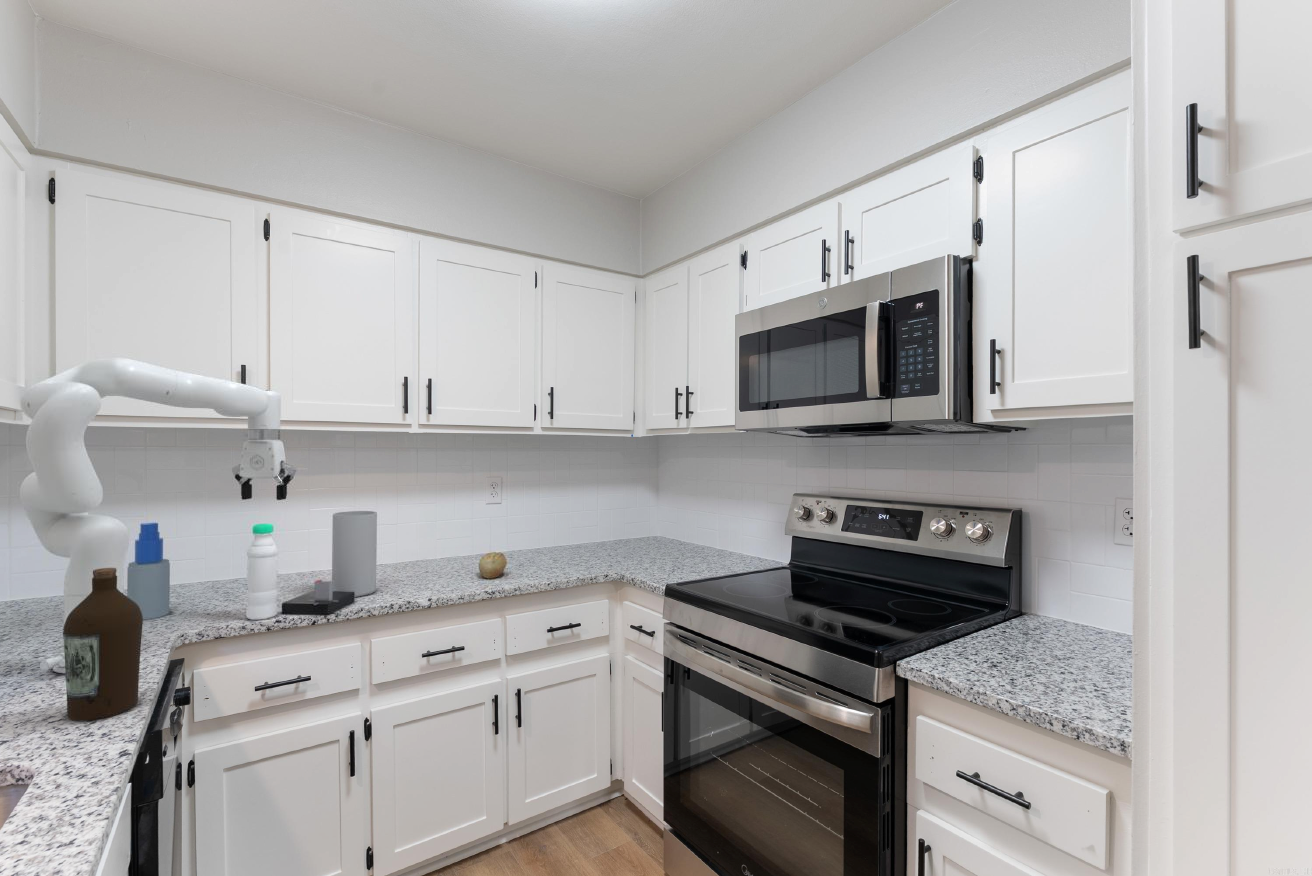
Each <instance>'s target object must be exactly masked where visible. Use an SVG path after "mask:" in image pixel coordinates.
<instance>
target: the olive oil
mask: <svg viewBox="0 0 1312 876" xmlns="http://www.w3.org/2000/svg"><path fill="white" fill-rule="evenodd" d="M143 623H144V620H143V616H142V613H141V610H140V608H139V606H138V605H137V604H136V603H135V602H134V601H133V600H131V599H130V598H128V597H127V594H125V593H124V594H123V593H121V592H120V591H119V590H118V589H117V576H116V568H101V569H96V570H94V571H93V578H92V592H91V593H90V594H89V595H88V596H87V597H86V598H85V599H84V600H83V601H82V602H81V603H80V604H79V605H78V606H76V607H75V608H74V609H73V610H72V611H71V612H70V614H69V615H68V617H67V619H66V622H65V624H64V623H63V628H62V639H63V640H62V641H63V648H64V655H65V672H66V673H65V688H66V689H65V690H66V716H67V718H68V719H69V720H71V721H76V722H85V721H94V720H100V719H105V718H109V717H113V716H116V715H119V714H122V713H124V712H127V711H129V710H131V709H133V708H134V707H135V706H136V705H137V704H138V702H139V701H138V700H139V680H140V665H141V663H140V662H141V650H142V649H141V648H142V634H143Z"/></svg>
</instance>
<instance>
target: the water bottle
mask: <svg viewBox="0 0 1312 876" xmlns="http://www.w3.org/2000/svg"><path fill="white" fill-rule="evenodd" d="M273 532H274V525H273V524H272V523H259V524H254V525H253V526H252V534H253V536H254V538H253V540H252V541H251V543H250V546H249V547H248V549H247V551H246V554H247V555H246V556H247V564H246V565H247V566H246V587H247V592H246V603H247V605H246V611H245V613H246V614H245V615H246V618H247V619H249V620H251V621H261V620H268V619H271V618H274V617H276V615H277V614H278V603H277V601H278V587H277V586H278V575H279V573H278V568H279V566H278V554H279V549H278V547H277V544H276V543H275V540H274V539H273V537H272V535H273Z"/></svg>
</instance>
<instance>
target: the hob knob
mask: <svg viewBox="0 0 1312 876" xmlns="http://www.w3.org/2000/svg"><path fill="white" fill-rule="evenodd" d="M332 583H333V581H332V580H322V579H316V580H315V581H314V591H315V601H318V602H330V601H332Z"/></svg>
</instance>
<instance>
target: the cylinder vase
mask: <svg viewBox="0 0 1312 876" xmlns="http://www.w3.org/2000/svg"><path fill="white" fill-rule="evenodd" d="M331 531H332V532H331V533H332V534H331V535H332V539H331V541H332V542H331V546H332V547H331V548H332V549H331V552H332V553H331V581H333V583H332V591H342V592H355V598H358V597H366V596H368V595H371V594H373V593H375V592H376V591H377V556H378V555H377V549H378V547H377V546H378V544H377V543H378V537H377V536H378V511H374V510H350V511H339V512H333V513H332V530H331Z"/></svg>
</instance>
